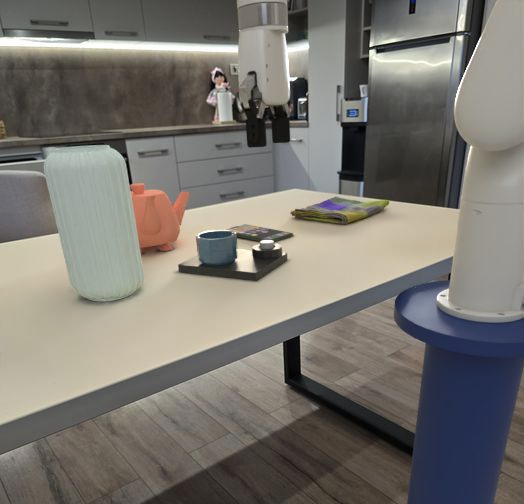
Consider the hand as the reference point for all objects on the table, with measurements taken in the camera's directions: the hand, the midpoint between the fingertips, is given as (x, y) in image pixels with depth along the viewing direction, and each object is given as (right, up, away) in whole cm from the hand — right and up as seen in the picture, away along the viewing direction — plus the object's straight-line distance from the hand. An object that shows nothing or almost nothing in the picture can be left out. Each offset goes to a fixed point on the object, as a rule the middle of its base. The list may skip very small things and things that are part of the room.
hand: (269, 144), depth 80 cm
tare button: (0, -15, +9) cm, 18 cm away
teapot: (-25, -13, +24) cm, 37 cm away
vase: (-26, -25, -2) cm, 36 cm away
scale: (-7, -19, +9) cm, 22 cm away
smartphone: (-3, -8, +30) cm, 32 cm away
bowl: (-9, -18, +8) cm, 22 cm away
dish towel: (+20, +2, +48) cm, 52 cm away
